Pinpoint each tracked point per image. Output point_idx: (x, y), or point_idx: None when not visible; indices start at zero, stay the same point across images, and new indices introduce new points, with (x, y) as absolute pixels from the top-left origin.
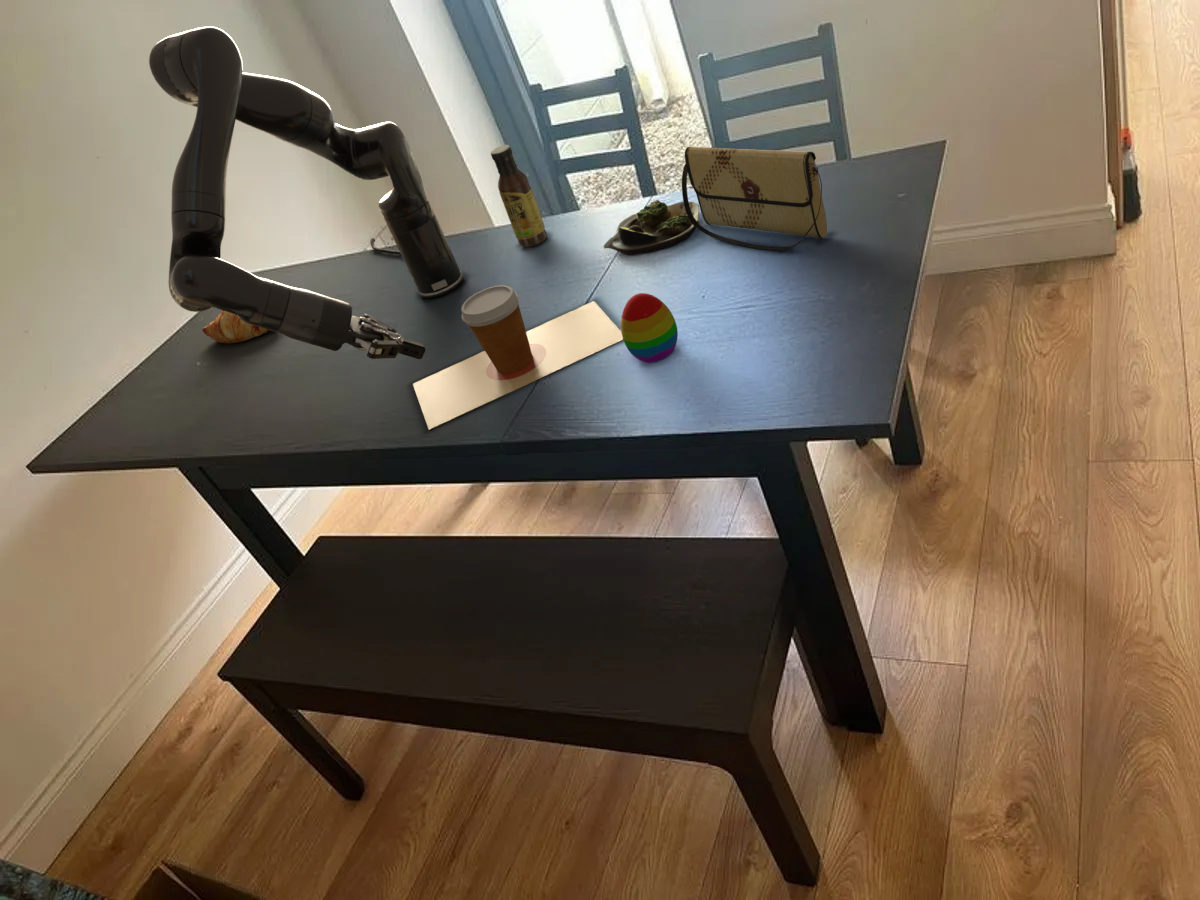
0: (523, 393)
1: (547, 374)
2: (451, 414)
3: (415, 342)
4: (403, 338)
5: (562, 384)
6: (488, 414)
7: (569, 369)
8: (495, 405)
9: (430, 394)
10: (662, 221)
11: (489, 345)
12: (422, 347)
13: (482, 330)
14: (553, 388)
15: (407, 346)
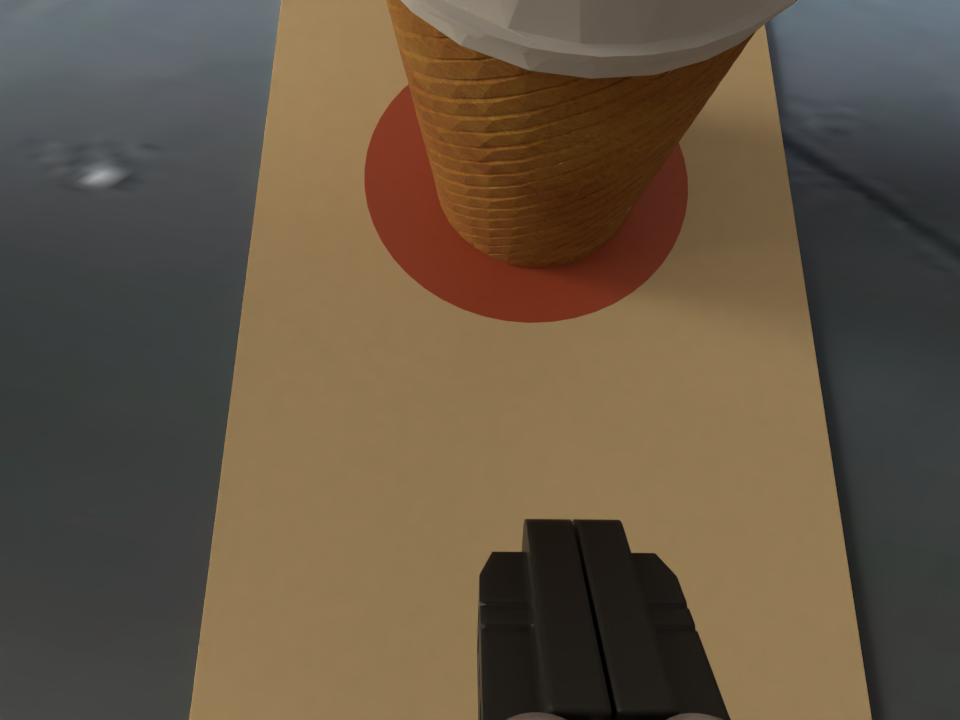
0: (854, 224)
1: (773, 98)
2: (804, 597)
3: (574, 581)
4: (586, 705)
5: (900, 78)
6: (934, 413)
7: (796, 24)
8: (870, 361)
9: (450, 673)
10: None
11: (676, 137)
12: (625, 539)
13: (744, 43)
14: (907, 113)
15: (719, 694)
